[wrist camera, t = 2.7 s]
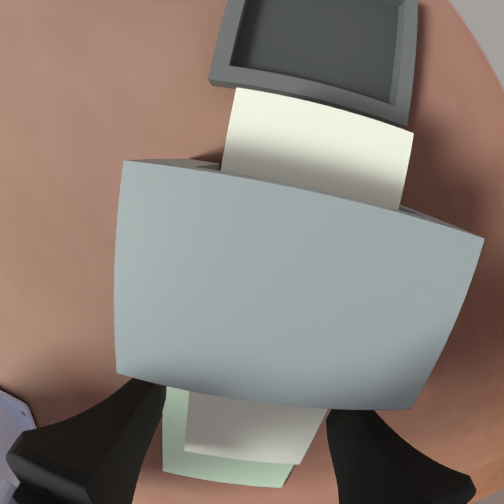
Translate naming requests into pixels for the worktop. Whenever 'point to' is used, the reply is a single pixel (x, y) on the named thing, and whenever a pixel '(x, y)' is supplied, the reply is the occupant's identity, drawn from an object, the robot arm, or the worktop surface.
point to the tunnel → (280, 289)
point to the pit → (322, 53)
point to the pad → (207, 464)
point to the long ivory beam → (311, 176)
